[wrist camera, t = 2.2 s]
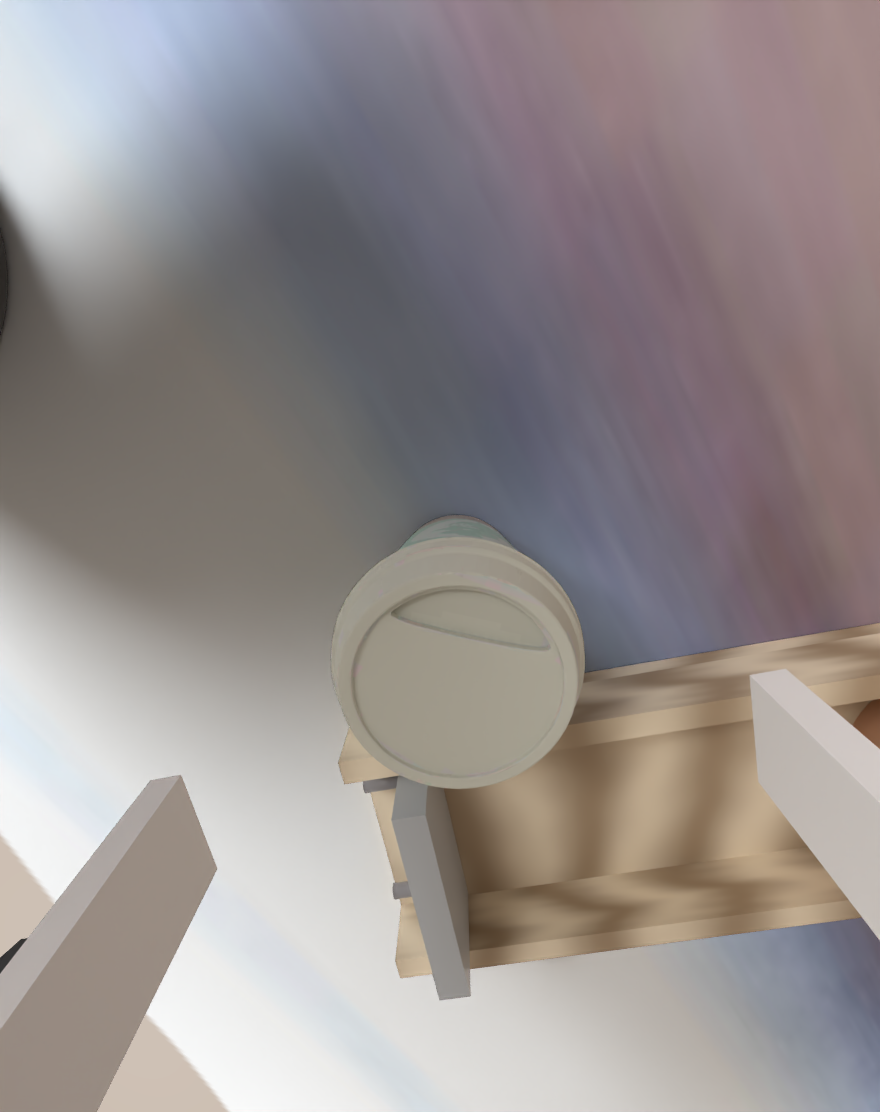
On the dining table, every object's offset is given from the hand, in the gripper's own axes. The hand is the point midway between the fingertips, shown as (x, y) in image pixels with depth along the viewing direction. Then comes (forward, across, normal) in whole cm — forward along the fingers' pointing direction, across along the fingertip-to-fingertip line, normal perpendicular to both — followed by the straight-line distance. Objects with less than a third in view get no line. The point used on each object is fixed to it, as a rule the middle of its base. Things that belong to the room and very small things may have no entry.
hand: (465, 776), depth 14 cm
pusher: (+16, -5, -14) cm, 21 cm away
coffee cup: (+17, 0, 0) cm, 17 cm away
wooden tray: (+17, +10, -14) cm, 24 cm away
